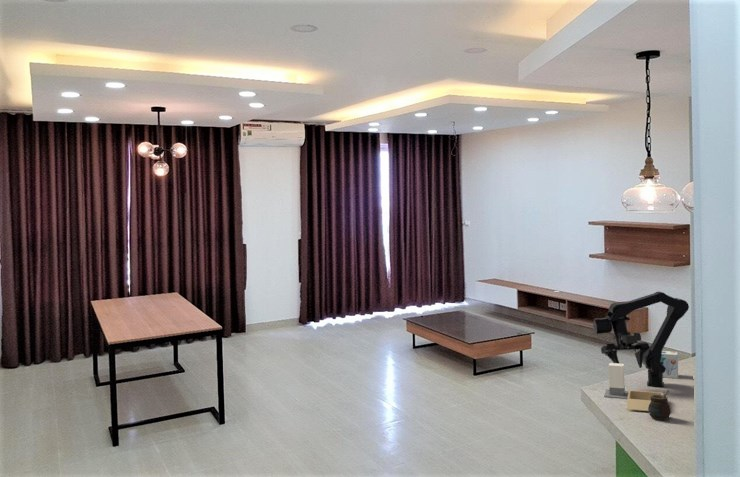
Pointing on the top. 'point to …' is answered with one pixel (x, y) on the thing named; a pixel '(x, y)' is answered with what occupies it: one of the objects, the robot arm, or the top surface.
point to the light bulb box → (670, 364)
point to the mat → (607, 394)
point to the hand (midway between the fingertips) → (630, 368)
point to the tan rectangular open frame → (640, 399)
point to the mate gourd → (659, 407)
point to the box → (616, 379)
